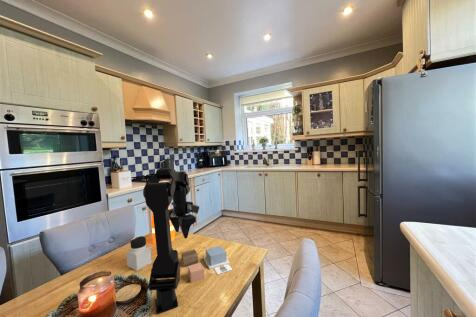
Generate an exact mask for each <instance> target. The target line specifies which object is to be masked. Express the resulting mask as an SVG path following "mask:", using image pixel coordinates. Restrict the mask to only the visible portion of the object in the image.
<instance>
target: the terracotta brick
mask: <svg viewBox="0 0 476 317" xmlns="http://www.w3.org/2000/svg"><path fill="white" fill-rule="evenodd" d="M187 274H188V277H189V280H190V282H191V284H192V283H195V282H199V281H201V280H205V268H204V266H203V264H202V263H201V262H198V263H197V264H193V265H190V266H188V267H187Z"/></svg>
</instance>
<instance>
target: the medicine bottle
mask: <svg viewBox="0 0 476 317" xmlns="http://www.w3.org/2000/svg"><path fill="white" fill-rule="evenodd" d="M152 258H153V257H152V247H150V246H148V245H147V239H146V236H142V235H141V236H135V237H134V238H132V239H131V240H130V249H128V250H126V262H127V267H128V268H130V269H133V270H135V271H136V272H138V271H140V270H141V269H143V268H145V267H146V266H148V265H150V264H153V262H152Z"/></svg>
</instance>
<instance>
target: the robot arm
mask: <svg viewBox="0 0 476 317" xmlns="http://www.w3.org/2000/svg"><path fill="white" fill-rule="evenodd" d="M160 181H161V182H160ZM190 192H191V187H190V179H189V174H188V173H187V172H186V171H185V170H183V171H179V170H177V171H176V170H174V169H173V168H170V167H169V168H168V167H166V168H158V169H157V170H156V172H155V173H154V174H153V175H151V176H150V177H149V178H148V179H147V181H146V183H145V184H144V187H143V190H142V195H143V198H144V201H145V205H146V207H147V208H148V209H149V210H150V211H151V212H152V215H153V219H154V229H155V239H156V244H155V246H156V247H155V248H156V257H155V259H154V260H153V262H152V267H151V269H150V276H149V282H148V286H147V287H148V290H149V291H150V292H151V291H155V293H156V294H155V297H156V298H155V300H154V302H155V312H156V314H157V315H158V314H161V313H163V312H167V311H169V310H172V309H174V308H177V307H179V302H178V297H177V293H176V289H178V286H179V283H180V282H181V262H180V261H179V259H180V258H179V252H178V250H177V249H173V244H172V242H173V241H172V242H171V231H170V222H171V223H172V225H173V227H174V231H175V233H178V232H181V234H182V236H183V238H184V239H187V238H188V237H189V232H190V230H191V229H190V228H191V226H192V225H193V224H195V223H196V222H197V217H196V216H195V215H194V214H199V210H200V206H199V205H196V204H194V202H193V201H187V196H188V194H189V193H190ZM170 205H171V206H172V207H173V208H171V209H168V207H170ZM192 213H193V214H192Z"/></svg>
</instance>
